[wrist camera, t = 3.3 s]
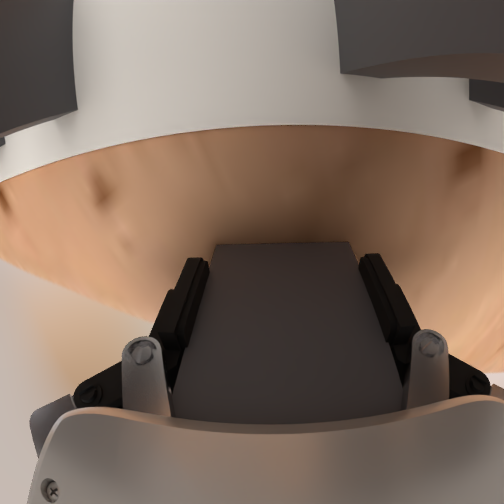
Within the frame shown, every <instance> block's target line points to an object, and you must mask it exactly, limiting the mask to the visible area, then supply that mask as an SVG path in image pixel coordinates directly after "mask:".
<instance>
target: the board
mask: <svg viewBox="0 0 504 504" xmlns="http://www.w3.org/2000/svg"><path fill="white" fill-rule="evenodd" d="M73 64H74V78H75V89H76V98H77V106H78V110H76V111H74V112H71V113H69V114H66V115H64V116H61V117H59V118H57V119H54V120H51V121H48V122H45V123H42V124H38V125H35V126H32V127H29V128H27V129H24V130H21V131H18V132H15V133H13V134H10V135H8V136H5V143H6V144H5V145H3V146H1V147H0V182H2V181H4V180H7V179H9V178H11V177H14V176H16V175H19V174H21V173H24V172H27V171H29V170H32V169H35V168H38V167H41V166H43V165H46V164H49V163H52V162H55V161H59V160H62V159H65V158H68V157H72V156H75V155H79V154H82V153H86V152H90V151H93V150H97V149H101V148H105V147H109V146H114V145H118V144H123V143H127V142H132V141H137V140H142V139H148V138H153V137H159V136H165V135H171V134H178V133H185V132H193V131H201V130H210V129H220V128H231V127H245V126H265V125H332V126H351V127H364V128H375V129H385V130H394V131H401V132H409V133H415V134H422V135H428V136H433V137H439V138H444V139H449V140H454V141H458V142H463V143H467V144H471V145H475V146H479V147H483V148H487V149H490V150H494V151H497V152H501V153H504V112H503V111H500V110H496V109H492V108H489V107H487V106H484V105H482V104H479V103H476V102H473V101H471V100H469V79H467V78H452V77H399V78H382V79H381V78H375V77H367V76H359V75H350V74H340V59H339V45H338V33H337V22H336V13H335V5H334V0H74V2H73Z"/></svg>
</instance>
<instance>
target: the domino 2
mask: <svg viewBox="0 0 504 504" xmlns="http://www.w3.org/2000/svg"><path fill="white" fill-rule="evenodd" d="M358 268H359V265H358V262H357V260H356V258H355V255H354V253H353V251H352V249H351V246H350V244H349V242H318V243H271V244H230V245H216V248H215V251H214V254H213V257H212V260H211V264H210V267H209V271H210V273H209V276H208V279H207V283H206V286H205V289H204V293H203V296H202V300H201V303H200V306H199V310H198V313H197V317H196V320H195V324H194V327H193V331H192V334H191V338H190V342H189V345H188V348H185V350H184V354H183V357H182V361H181V365H180V368H179V372H178V375H177V379H176V383H175V387H174V390H173V394H172V399H173V405H174V410H175V415H176V418H181V419H189V420H197V421H207V422H218V423H233V424H265V425H275V424H306V423H321V422H332V421H341V420H350V419H357V418H364V417H371V416H377V415H382V414H388V413H393V412H398V411H400V408H401V401H402V394H403V388H402V384H401V381H400V377H399V374H398V371H397V367H396V364H395V361H394V358H393V355H392V352H391V349H390V346H389V343H388V342H387V343H386V341H385V338H384V336H383V333H382V330H381V327H380V324H379V321H378V318H377V316H376V313H375V310H374V307H373V305H372V302H371V299H370V297H369V294H368V292H367V289H366V286H365V284H364V281H363V279H362V276H361V274H360V272H359V269H358Z"/></svg>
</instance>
